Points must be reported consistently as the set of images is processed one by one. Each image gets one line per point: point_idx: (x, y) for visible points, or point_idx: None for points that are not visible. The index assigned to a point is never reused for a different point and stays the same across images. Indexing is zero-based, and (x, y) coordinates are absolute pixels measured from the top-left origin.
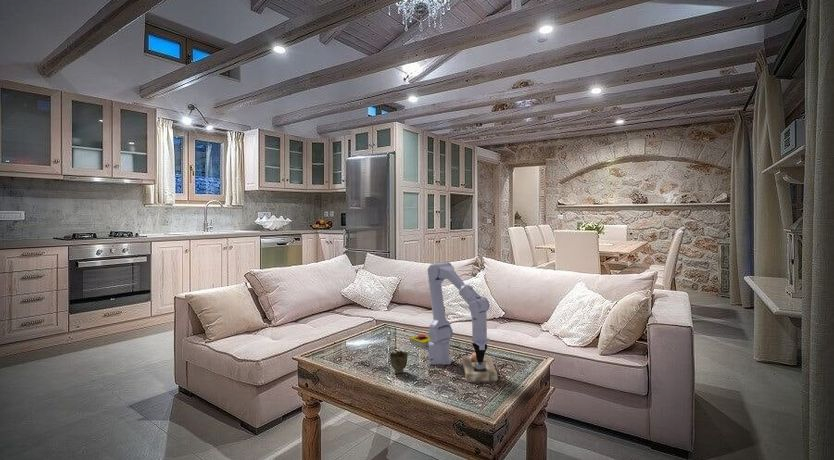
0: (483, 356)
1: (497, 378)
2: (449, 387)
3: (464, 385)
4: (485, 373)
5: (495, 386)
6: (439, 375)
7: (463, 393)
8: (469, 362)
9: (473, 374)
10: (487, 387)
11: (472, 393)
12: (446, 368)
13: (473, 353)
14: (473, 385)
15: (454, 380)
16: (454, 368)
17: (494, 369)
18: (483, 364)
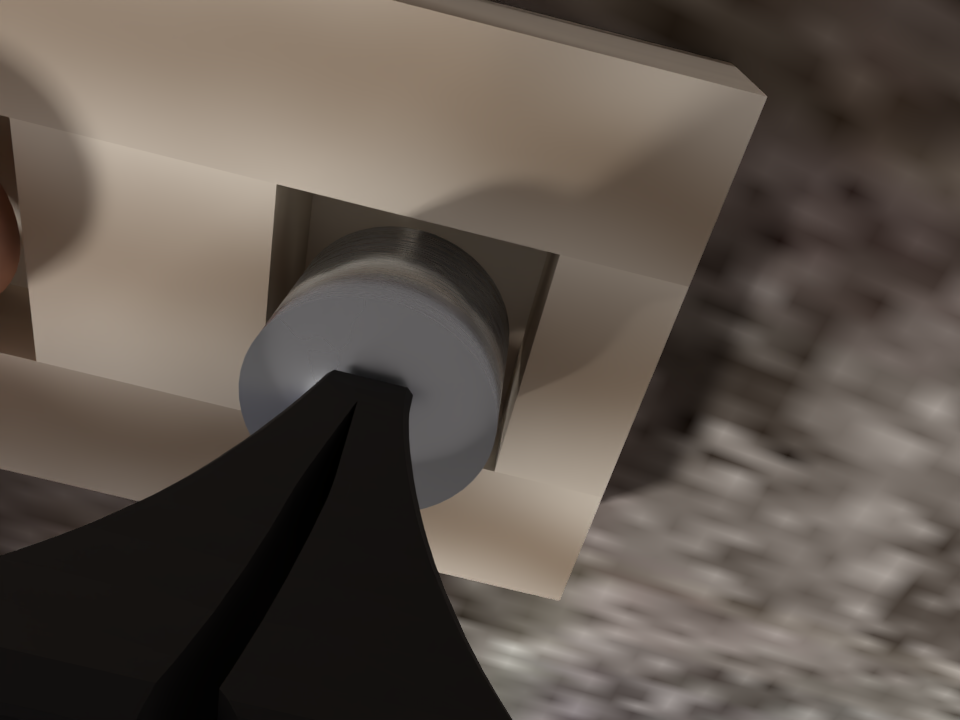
0: (410, 491)
1: (743, 74)
2: (649, 701)
3: (662, 568)
4: (644, 334)
5: (913, 196)
6: None
7: (876, 645)
8: (44, 397)
9: (592, 513)
10: (875, 334)
11: (938, 570)
12: None
13: None
14: (710, 480)
15: (474, 610)
16: (74, 497)
17: (491, 54)
18: (484, 386)
